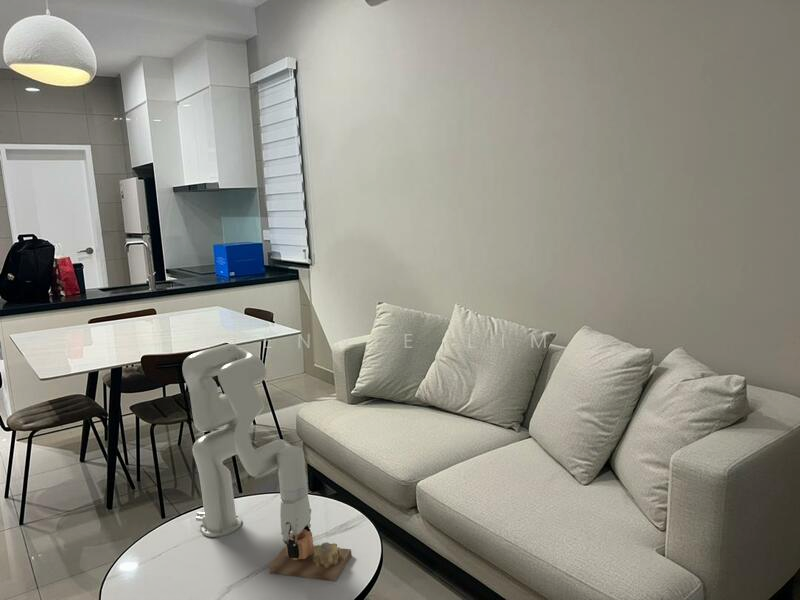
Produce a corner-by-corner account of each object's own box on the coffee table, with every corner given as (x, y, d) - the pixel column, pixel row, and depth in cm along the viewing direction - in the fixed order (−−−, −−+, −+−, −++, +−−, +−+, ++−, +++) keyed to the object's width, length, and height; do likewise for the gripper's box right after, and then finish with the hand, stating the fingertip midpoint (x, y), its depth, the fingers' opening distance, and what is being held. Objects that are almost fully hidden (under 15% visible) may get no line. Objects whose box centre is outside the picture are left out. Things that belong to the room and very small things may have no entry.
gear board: (269, 573, 170) (267, 551, 169) (289, 548, 181) (286, 528, 180) (335, 581, 164) (333, 559, 163) (351, 555, 176) (349, 535, 175)
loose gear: (282, 558, 171) (281, 542, 170) (294, 543, 178) (292, 527, 177) (306, 561, 169) (305, 544, 168) (317, 546, 176) (316, 530, 175)
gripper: (295, 476, 179) (301, 531, 182) (266, 505, 163) (273, 565, 166) (318, 477, 177) (324, 533, 180) (292, 507, 161) (298, 568, 164)
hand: (300, 548), depth 173 cm, fingers closed on loose gear, 7 cm apart
